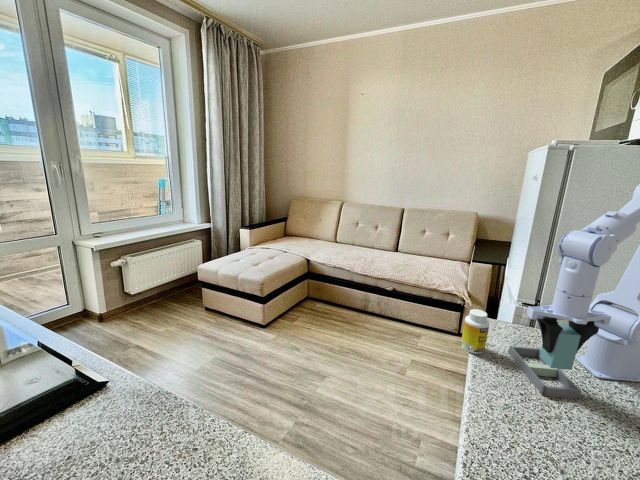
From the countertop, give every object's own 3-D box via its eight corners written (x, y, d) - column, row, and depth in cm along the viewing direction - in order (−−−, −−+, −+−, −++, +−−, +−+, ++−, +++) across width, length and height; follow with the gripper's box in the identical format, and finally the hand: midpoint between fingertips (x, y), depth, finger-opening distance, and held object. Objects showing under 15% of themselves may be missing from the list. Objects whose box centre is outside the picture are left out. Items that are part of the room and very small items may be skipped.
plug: (559, 357, 67) (567, 325, 65) (571, 369, 63) (580, 335, 61) (539, 356, 67) (547, 323, 65) (550, 368, 63) (559, 333, 61)
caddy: (538, 355, 76) (539, 348, 76) (578, 399, 62) (581, 390, 62) (508, 353, 77) (509, 346, 77) (542, 395, 63) (544, 387, 63)
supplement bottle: (476, 357, 75) (483, 320, 72) (456, 346, 79) (461, 310, 77) (488, 350, 78) (495, 314, 75) (468, 340, 82) (474, 305, 80)
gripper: (547, 297, 57) (532, 359, 61) (631, 302, 56) (611, 366, 59) (526, 282, 64) (514, 339, 68) (601, 287, 63) (585, 345, 66)
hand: (558, 351), depth 64 cm, fingers closed on plug, 4 cm apart
